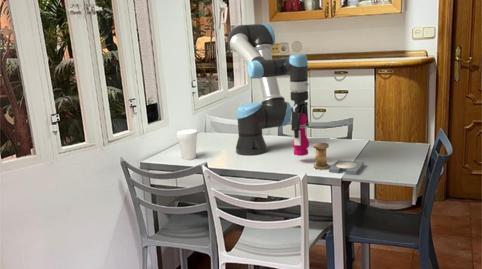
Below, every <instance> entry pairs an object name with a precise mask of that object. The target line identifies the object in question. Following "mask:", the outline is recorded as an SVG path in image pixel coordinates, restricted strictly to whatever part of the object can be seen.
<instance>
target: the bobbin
mask: <svg viewBox="0 0 482 269" xmlns="http://www.w3.org/2000/svg"><path fill="white" fill-rule="evenodd" d="M312 147H313V148H314V149H315V163H314V164H313V169H314V168H315V170H317V169H320V170H319V171H323V169H325V170H329V168H330V164H328V162H327V149H328V148H329V143H327V142H315V143H313V144H312ZM321 169H322V170H321Z"/></svg>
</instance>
